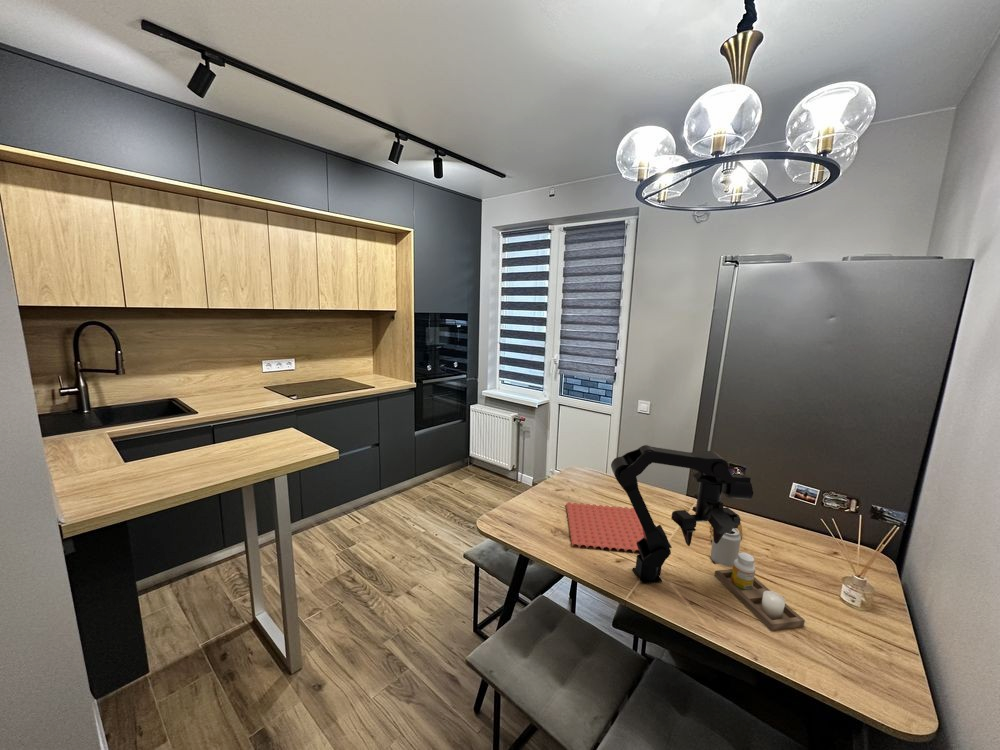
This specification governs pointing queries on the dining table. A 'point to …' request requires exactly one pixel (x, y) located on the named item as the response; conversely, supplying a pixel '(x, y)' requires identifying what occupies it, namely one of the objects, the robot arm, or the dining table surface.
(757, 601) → the caddy
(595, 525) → the red studded mat
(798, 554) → the dining table surface
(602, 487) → the dining table surface
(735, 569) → the supplement bottle
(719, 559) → the can
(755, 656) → the dining table surface
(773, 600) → the white rounded cylinder
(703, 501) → the robot arm
